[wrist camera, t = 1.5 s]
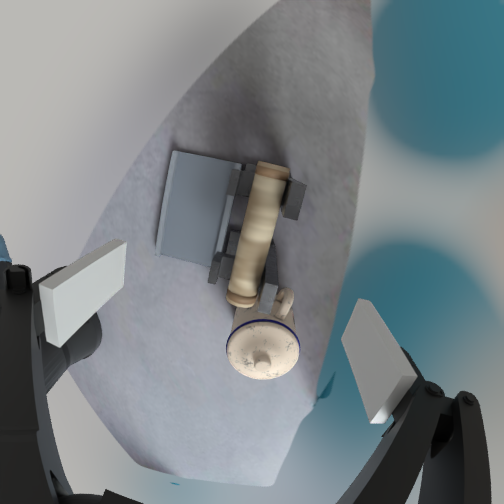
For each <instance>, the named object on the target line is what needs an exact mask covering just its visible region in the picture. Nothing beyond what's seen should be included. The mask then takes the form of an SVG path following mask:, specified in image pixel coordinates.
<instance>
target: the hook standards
mask: <svg viewBox="0 0 504 504" xmlns="http://www.w3.org/2000/svg"><path fill="white" fill-rule="evenodd" d="M256 166H257V165H254V164H250V163H247V164H246V168H245V171H243V170H239V169H232V171H231V175H230V179H229V184H228V188H227V193H226V195H230V196H235V195H237V194H238V195H242V196H246V197H249V196H250V192H251V188H252V184H253V180H254V176H255V170H256ZM306 186H307V185H305V184H303V183H301V182H299V181H297V180H295V179H293V178H290V174H289V178H288V181H287V182H286V186H285V190H284V194H283V198H282V202H281V205H280V208H281V211H282V215H283V217H285V218H289V219H293V220H298V216H299V212H300V209H301V205H302V201H303V198H304V194H305V190H306ZM240 234H241V232H240V231H236V230H231V233H230V237H229V242H228V246H227V251H226V253H223V252H219V251H217V253H216V254H215V256H214V258H213V260H212V263H211V268H210V273H209V278H208V283H211V284H216V282H217V279H218V277H220V278H224V279H228V280H230V277H231V273H232V269H233V264H234V260H235V256H236V251H237V247H238V243H239V238H240ZM277 289H278V274H277V263H276V251H275V244H274V243H273V239H272V240H271V243H270V247H269V251H268V255H267V258H266V262H265V266H264V270H263V273H262V277H261V281H260V284H259V293H258V306H257V312H260V313H264V314H269V315H270V312H271V309H272V306H273V303H274V299H275V296H276V293H277Z"/></svg>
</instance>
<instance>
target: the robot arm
mask: <svg viewBox="0 0 504 504" xmlns="http://www.w3.org/2000/svg"><path fill="white" fill-rule="evenodd" d="M126 246H127V242H126V241H122V240H119V239H114V240H112V241H110V242H108V243H106V244H105V245H103V246H101V247H99V248H98V249H96V250H94V251H92V252H91V253H89V254H87V255H85V256H84V257H82V258H80V259H79V260H77V261H75V262H74V263H72V264H70V265H69V266H64V267H60V268H57V269H55V270H54V271H52V272H51V273H49V274H47V275H46V276H44V277H42V278H41V279H39V280H37V281H36V282H34V283H33V284H32V275H31V269H30V268H29V267H28V266H25V265H19V264H18V265H12V263H11V262H12V260H11V258H10V257H9V253H8V250H7V248H6V244H5V241H4V238H3V237H2V235H0V504H143V503H141V502H138V501H135V500H132V499H129V498H127V497H124V496H121V495H119V494H116V493H114V492H111V491H109V490H107V489H105V492H104V494H103V496H101V495H94V494H73V492H72V489H71V487H70V485H69V483H68V481H67V479H66V476H65V473H64V470H63V467H62V464H61V460H60V457H59V454H58V450H57V446H56V442H55V437H54V434H53V429H52V424H51V419H50V414H49V409H48V403H47V396H46V394H47V393H48V392H49V391H50V389H51V388H52V387H53V386H54V384H55V383H56V382H57V381H58V379H59V378H60V377H61V376H62V374H63V373H64V372H65V371H66V370H67V368H68V367H69V366H70V365H72V364H74V363H76V362H78V361H80V360H81V359H85V358H87V357H89V356H91V355H92V354H93V353H94V352H95V350H96V349H97V348H98V347H99V345H100V343H101V339H102V330H101V325H100V321H99V319H98V316H97V314H96V311H97V310H98V309H100V308H101V307H102V306H103V305H104V304H105V303H106V302H107V301H108V300H109V299H110V298H111V297H112V296H113V295H114V294H115V293H116V292H118V291H119V290H120V289H121V288H122V287H123V286H124V270H125V257H126ZM341 340H342V343H343V346H344V349H345V351H346V354H347V357H348V360H349V363H350V365H351V368H352V371H353V374H354V377H355V380H356V383H357V385H358V388H359V391H360V394H361V397H362V400H363V404H364V406H365V409H366V413H367V416H368V419H369V422H370V423H385V422H386V421H387V420H388V418H389V417H390V416H391V414H392V415H393V418H394V422H393V423H392V424H391V425H390V426H389V428H388V429H387V430H386V431H385V433H384V434H383V435H382V437H383V438H382V440H381V442H380V444H379V445H378V446H377V448H376V450H375V451H374V453H373V454H372V456H371V457H370V459H369V460H368V462H367V463H366V465H365V466H364V468H363V469H362V470H361V472H360V473H359V475H358V476H357V477H356V479H355V480H354V482H353V483H352V484H351V485H350V487H349V488H348V489H347V491H346V492H345V493H344V494H343V496H342V497H341V498H340V499H339V501H338V502H337V503H336V504H405V502H406V500H407V499H408V497H409V494H410V492H411V490H412V488H413V486H414V484H415V482H416V479H417V477H418V475H419V472H420V470H421V468H422V465H423V463H424V465H423V474H422V482H421V488H420V495H419V501H418V504H491V479H490V468H489V458H488V450H487V443H486V436H485V431H484V425H483V419H482V414H481V409H480V405H479V402H478V400H477V399H476V397H475V396H474V395H473V394H472V393H469V392H466V391H460V392H459V393H458V394H457V396H456V397H455V399H452V398H449V397H445V394H444V392H443V390H442V389H441V388H440V387H439V386H438V385H437V384H435V383H432V382H430V381H425V379H424V377H423V376H422V374H421V373H420V371H419V369H418V368H417V366H416V364H415V363H414V362H413V361H412V358H411V356H410V355H409V353H407V351H405V350H404V349H403V348H402V347H400V346H399V345H398V343H397V342H396V340H395V338H394V337H393V335H392V334H391V332H390V331H389V329H388V327H387V326H386V325H385V323H384V321H383V320H382V318H381V317H380V315H379V314H378V312H377V311H376V309H375V308H374V306H373V305H372V303H371V302H370V301H368V300H363V299H358V301H357V303H356V306H355V308H354V311H353V313H352V315H351V318H350V320H349V322H348V325H347V327H346V329H345V331H344V334H343V336H342V338H341Z"/></svg>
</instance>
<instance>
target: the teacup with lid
mask: <svg viewBox="0 0 504 504" xmlns="http://www.w3.org/2000/svg"><path fill="white" fill-rule="evenodd" d="M293 299H294V293H293V291H292V290H291V289H289V288H283V289H282V290H281V291H280V292H279V293H278V295H277V294H276V296H275V299H274V303H273V306H272V309H271V312H270V315H269V314H264V313H260V312H257V306H258V295H257V298H256V302H255V303H254V305H253V306H252V307H248V308H243V307H237V309H236V311H235V316H234V321H233V325H232V330H231V334H230V336H229V338H228V340H227V344H226V352H227V356H228V359H229V361H230V363H231V364H232V366H233V367H234V368H235V369H236V370H237V371H239V372H240V373H241V374H243V375H245V376H248V377H250V378H254V379H272V378H276V377H279V376H281V375H283V374H285V373H286V372H288V371H289V370H290V369H291V368H292V367H293V366H294V365H295V363H296V362H297V360H298V357H299V354H300V343H299V340H298V337H297V336H296V329H295V322H294V316H293V311H292V308H291V306H292V303H293Z"/></svg>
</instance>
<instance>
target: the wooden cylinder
mask: <svg viewBox="0 0 504 504" xmlns="http://www.w3.org/2000/svg"><path fill="white" fill-rule="evenodd" d="M289 170H290V169H289V168H286V167H282V166H278V165H274V164H270V163H266V162H262V161H258V163H257V166H256V170H255V176H254V180H253V184H252V188H251V192H250V196H249V200H248V205H247V209H246V213H245V217H244V221H243V226H242V230H241V234H240V238H239V243H238V247H237V251H236V256H235V260H234V264H233V269H232V273H231V277H230V282H229V286H228V289H227V294H226V299H227V301H228V302H229V303H231V304H232V305H235V306H238V307H243V308H248V307H252V306H253V305H254V303H255V302H256V298H257V295H258V288H259V284H260V281H261V277H262V273H263V270H264V266H265V262H266V258H267V255H268V251H269V247H270V243H271V240H272V236H273V232H274V228H275V225H276V221H277V217H278V213H279V209H280V205H281V202H282V198H283V194H284V190H285V186H286V182H287V181H288V178H289V174H290V173H289Z"/></svg>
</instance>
